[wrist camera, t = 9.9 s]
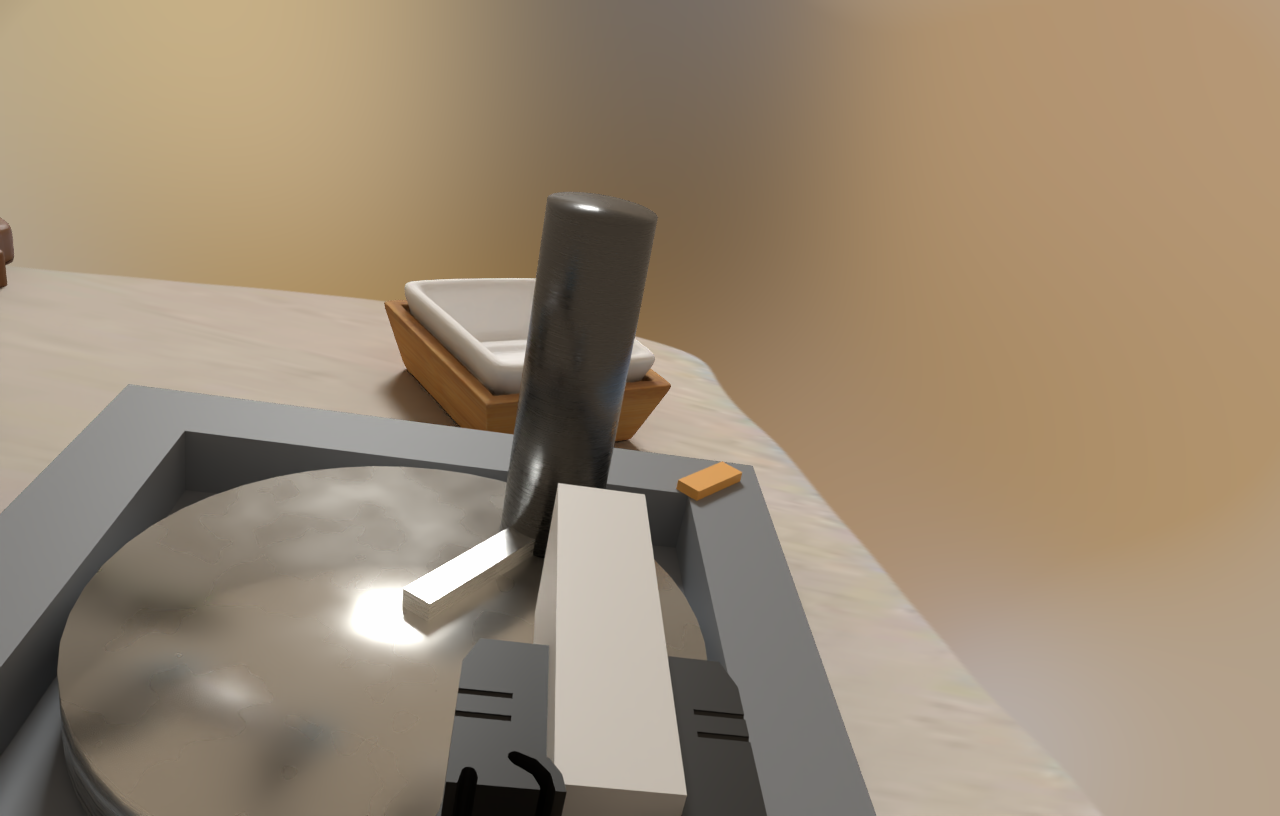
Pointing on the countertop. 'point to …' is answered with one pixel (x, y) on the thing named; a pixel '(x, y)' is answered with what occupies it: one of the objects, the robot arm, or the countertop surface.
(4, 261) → the plant
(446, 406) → the soap dish
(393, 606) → the dial
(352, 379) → the countertop surface
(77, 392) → the countertop surface
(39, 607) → the tray
